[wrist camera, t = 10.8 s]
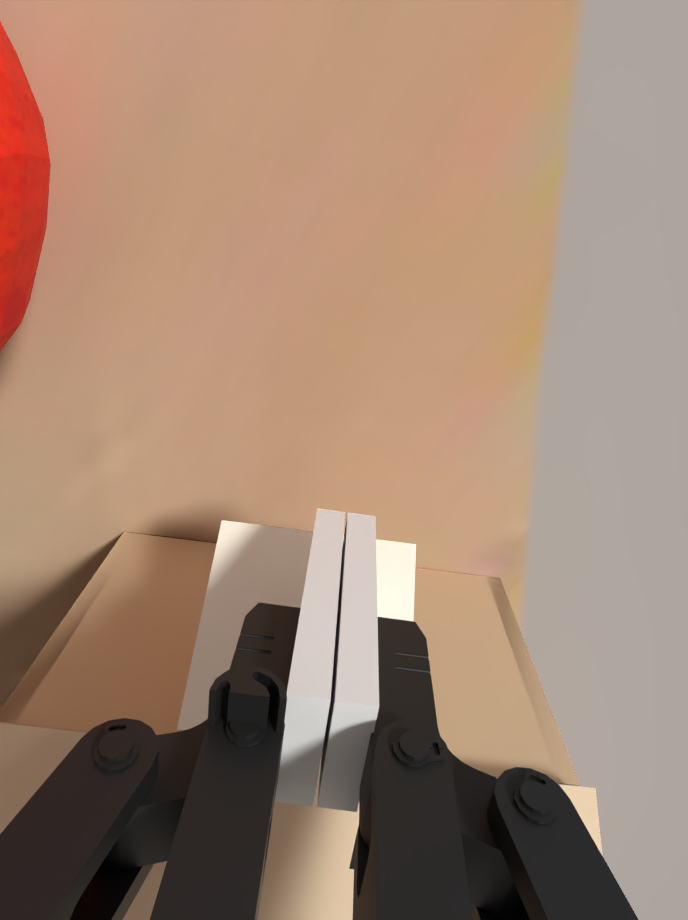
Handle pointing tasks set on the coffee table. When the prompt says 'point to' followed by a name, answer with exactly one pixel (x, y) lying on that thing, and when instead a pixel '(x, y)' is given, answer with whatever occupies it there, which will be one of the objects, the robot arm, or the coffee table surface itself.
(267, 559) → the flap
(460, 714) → the carton
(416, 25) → the coffee table surface
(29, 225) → the apple
